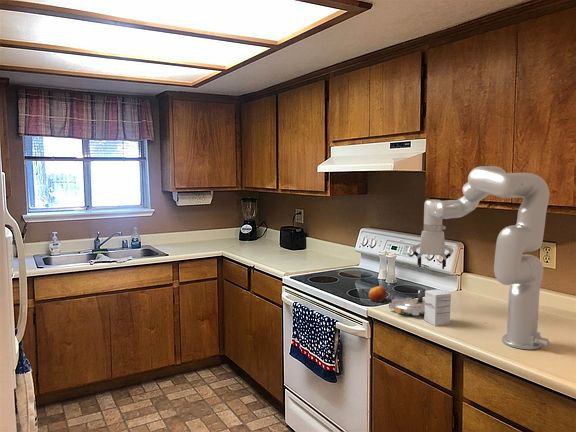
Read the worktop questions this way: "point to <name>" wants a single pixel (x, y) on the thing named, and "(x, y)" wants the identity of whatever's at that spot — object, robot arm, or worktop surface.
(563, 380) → the worktop surface
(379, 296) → the fruit
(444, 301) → the supplement box
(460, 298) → the worktop surface
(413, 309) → the silver knobbed tray
